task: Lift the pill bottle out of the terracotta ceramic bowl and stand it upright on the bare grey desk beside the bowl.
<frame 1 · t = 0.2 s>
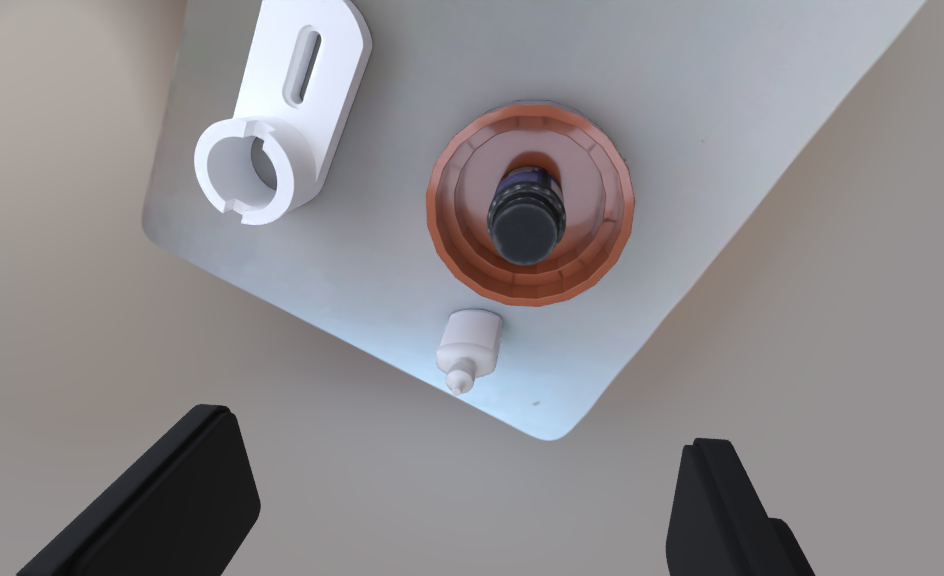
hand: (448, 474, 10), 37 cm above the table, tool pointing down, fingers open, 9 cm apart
pill bottle: (529, 197, 44), resting on bowl
bowl: (529, 196, 44), on the table
eye dropper bottle: (476, 322, 51), on the table
bracket: (301, 104, 44), on the table
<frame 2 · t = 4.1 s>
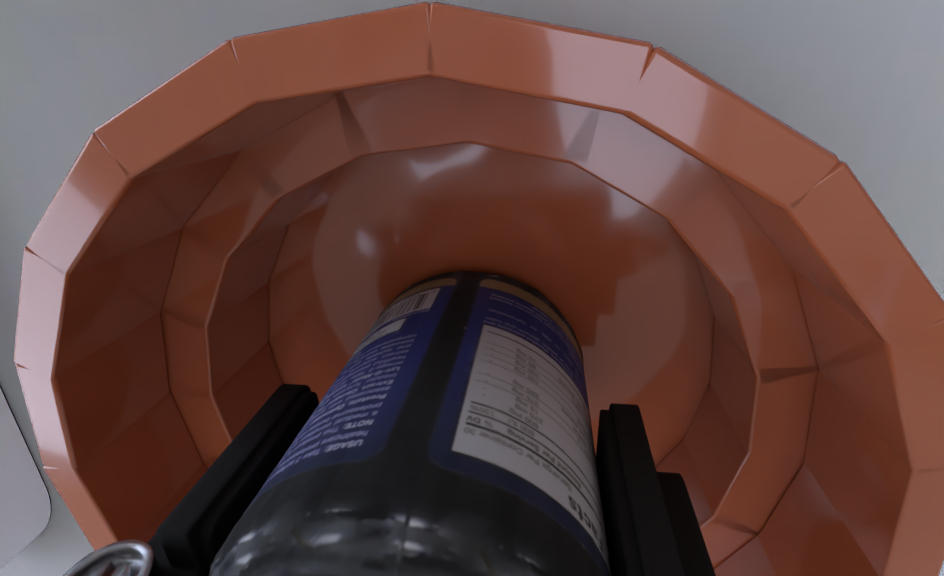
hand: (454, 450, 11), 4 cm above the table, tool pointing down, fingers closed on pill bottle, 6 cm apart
pill bottle: (478, 356, 14), resting on bowl, touching gripper
bowl: (478, 352, 14), on the table
when the fingers open (4 cm above the table, at t = 11.3 s): pill bottle stays where it is, on the table.
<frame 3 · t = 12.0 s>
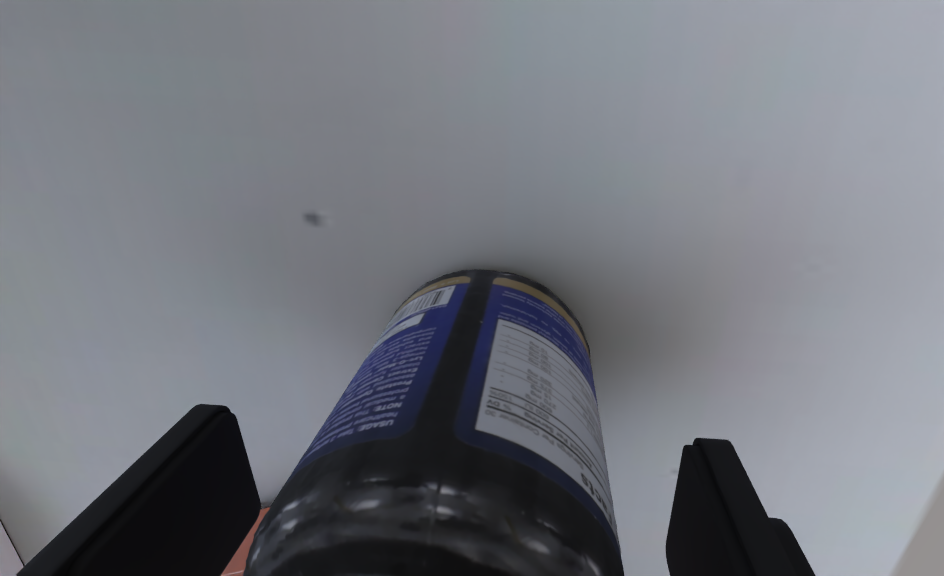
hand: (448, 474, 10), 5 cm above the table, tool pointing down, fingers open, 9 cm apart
pill bottle: (488, 352, 15), on the table
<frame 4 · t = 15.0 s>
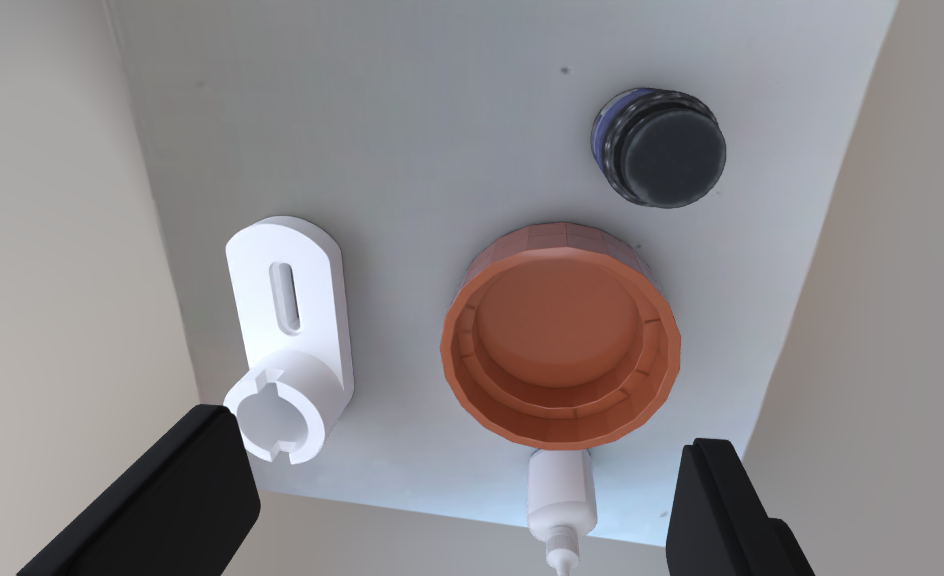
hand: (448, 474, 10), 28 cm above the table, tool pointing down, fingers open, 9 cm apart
pill bottle: (635, 134, 33), on the table
bowl: (555, 319, 40), on the table
eye dropper bottle: (559, 455, 45), on the table
bracket: (303, 323, 44), on the table
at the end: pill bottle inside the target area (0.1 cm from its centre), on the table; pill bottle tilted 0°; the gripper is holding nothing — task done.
